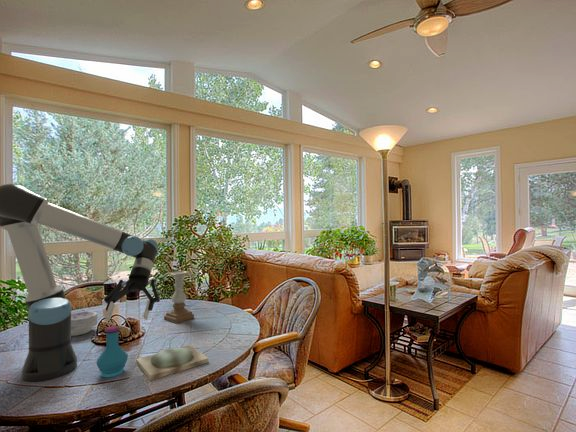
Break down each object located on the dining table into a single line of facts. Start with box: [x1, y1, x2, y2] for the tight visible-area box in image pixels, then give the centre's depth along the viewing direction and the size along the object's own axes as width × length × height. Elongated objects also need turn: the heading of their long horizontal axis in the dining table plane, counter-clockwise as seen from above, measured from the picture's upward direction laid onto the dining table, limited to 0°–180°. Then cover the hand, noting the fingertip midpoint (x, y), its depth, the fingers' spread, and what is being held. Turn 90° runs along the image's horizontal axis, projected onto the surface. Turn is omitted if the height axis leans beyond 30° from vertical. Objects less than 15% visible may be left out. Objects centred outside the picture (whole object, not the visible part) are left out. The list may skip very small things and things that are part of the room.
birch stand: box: [135, 344, 209, 381], centre depth 115 cm, size 20×16×2 cm
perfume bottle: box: [96, 325, 129, 378], centre depth 108 cm, size 9×9×15 cm
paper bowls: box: [71, 310, 98, 337], centre depth 146 cm, size 15×15×8 cm
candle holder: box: [163, 270, 195, 324], centre depth 166 cm, size 11×11×24 cm
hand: (126, 318), depth 119 cm, fingers open, 13 cm apart
